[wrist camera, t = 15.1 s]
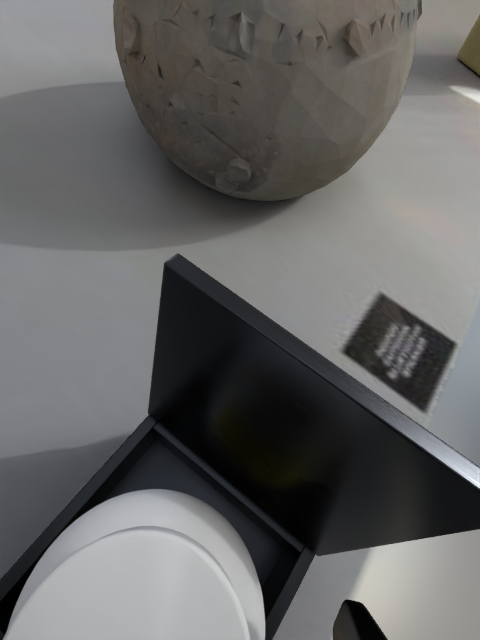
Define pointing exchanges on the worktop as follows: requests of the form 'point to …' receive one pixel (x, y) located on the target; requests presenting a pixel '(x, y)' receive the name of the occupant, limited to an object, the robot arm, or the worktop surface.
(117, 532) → the supplement bottle
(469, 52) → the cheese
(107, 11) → the worktop surface
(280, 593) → the black open box
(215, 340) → the lid
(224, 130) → the bowl
